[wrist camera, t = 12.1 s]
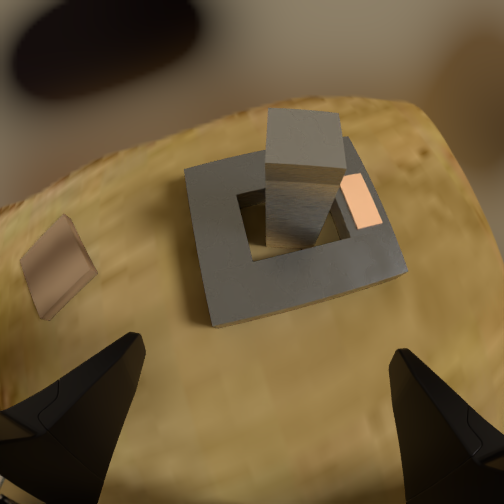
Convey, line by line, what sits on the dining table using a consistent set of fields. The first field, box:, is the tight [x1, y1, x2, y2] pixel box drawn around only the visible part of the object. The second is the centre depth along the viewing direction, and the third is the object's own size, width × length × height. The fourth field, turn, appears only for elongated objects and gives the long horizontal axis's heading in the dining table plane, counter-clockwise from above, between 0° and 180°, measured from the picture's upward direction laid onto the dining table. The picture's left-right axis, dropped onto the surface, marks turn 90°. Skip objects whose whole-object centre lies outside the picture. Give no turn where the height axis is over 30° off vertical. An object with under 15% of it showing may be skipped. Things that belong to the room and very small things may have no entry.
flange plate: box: [184, 136, 408, 328], centre depth 24 cm, size 14×16×3 cm
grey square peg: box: [265, 108, 347, 249], centre depth 19 cm, size 4×4×12 cm
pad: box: [20, 214, 98, 321], centre depth 24 cm, size 8×8×2 cm
